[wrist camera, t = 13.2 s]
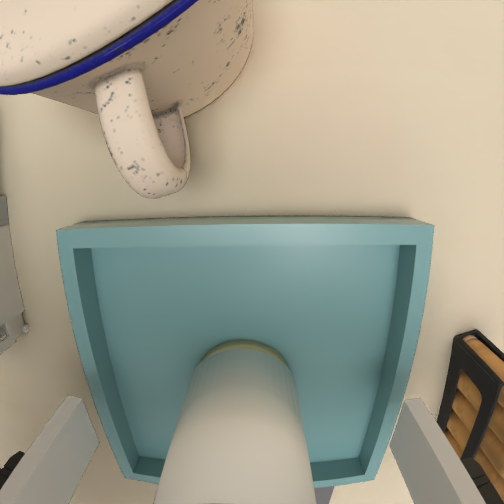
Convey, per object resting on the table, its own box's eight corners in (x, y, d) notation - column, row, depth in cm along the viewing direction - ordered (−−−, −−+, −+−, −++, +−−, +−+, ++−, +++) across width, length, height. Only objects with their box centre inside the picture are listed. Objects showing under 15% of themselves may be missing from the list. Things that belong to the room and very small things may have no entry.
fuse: (198, 414, 16) (162, 579, 6) (188, 334, 14) (116, 522, 5) (291, 415, 16) (312, 584, 6) (297, 334, 14) (341, 533, 5)
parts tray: (134, 453, 18) (124, 477, 15) (82, 221, 14) (56, 230, 12) (365, 454, 17) (373, 479, 15) (409, 217, 14) (434, 225, 12)
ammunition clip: (453, 335, 15) (582, 470, 4) (477, 328, 15) (605, 446, 4) (427, 453, 18) (483, 571, 6) (447, 445, 18) (508, 556, 6)
